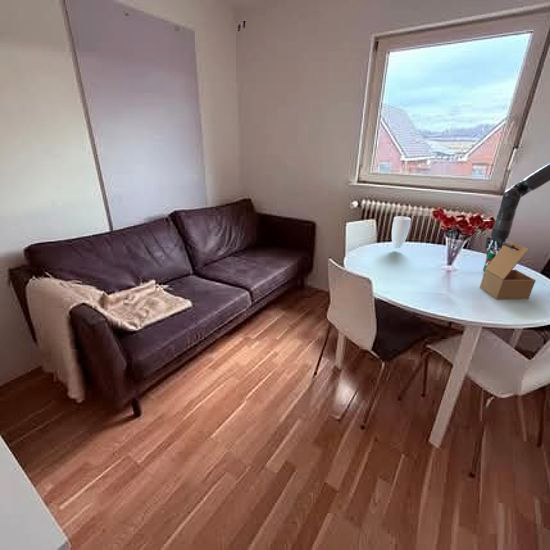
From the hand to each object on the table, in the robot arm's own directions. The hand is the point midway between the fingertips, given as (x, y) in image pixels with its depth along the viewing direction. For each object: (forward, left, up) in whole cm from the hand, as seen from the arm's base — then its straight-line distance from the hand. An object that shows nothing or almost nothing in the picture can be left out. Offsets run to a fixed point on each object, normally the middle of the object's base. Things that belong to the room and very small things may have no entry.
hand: (492, 259), depth 164 cm
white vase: (+46, -19, -9) cm, 51 cm away
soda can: (0, 0, -8) cm, 8 cm away
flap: (+3, +25, +9) cm, 27 cm away
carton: (-1, +24, -8) cm, 25 cm away
